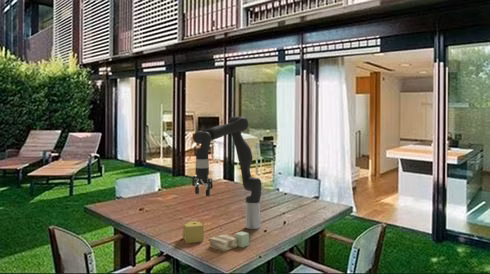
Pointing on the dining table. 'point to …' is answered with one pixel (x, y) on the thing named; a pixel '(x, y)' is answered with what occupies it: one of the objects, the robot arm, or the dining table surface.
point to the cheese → (193, 232)
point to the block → (242, 239)
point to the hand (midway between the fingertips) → (202, 195)
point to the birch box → (223, 242)
